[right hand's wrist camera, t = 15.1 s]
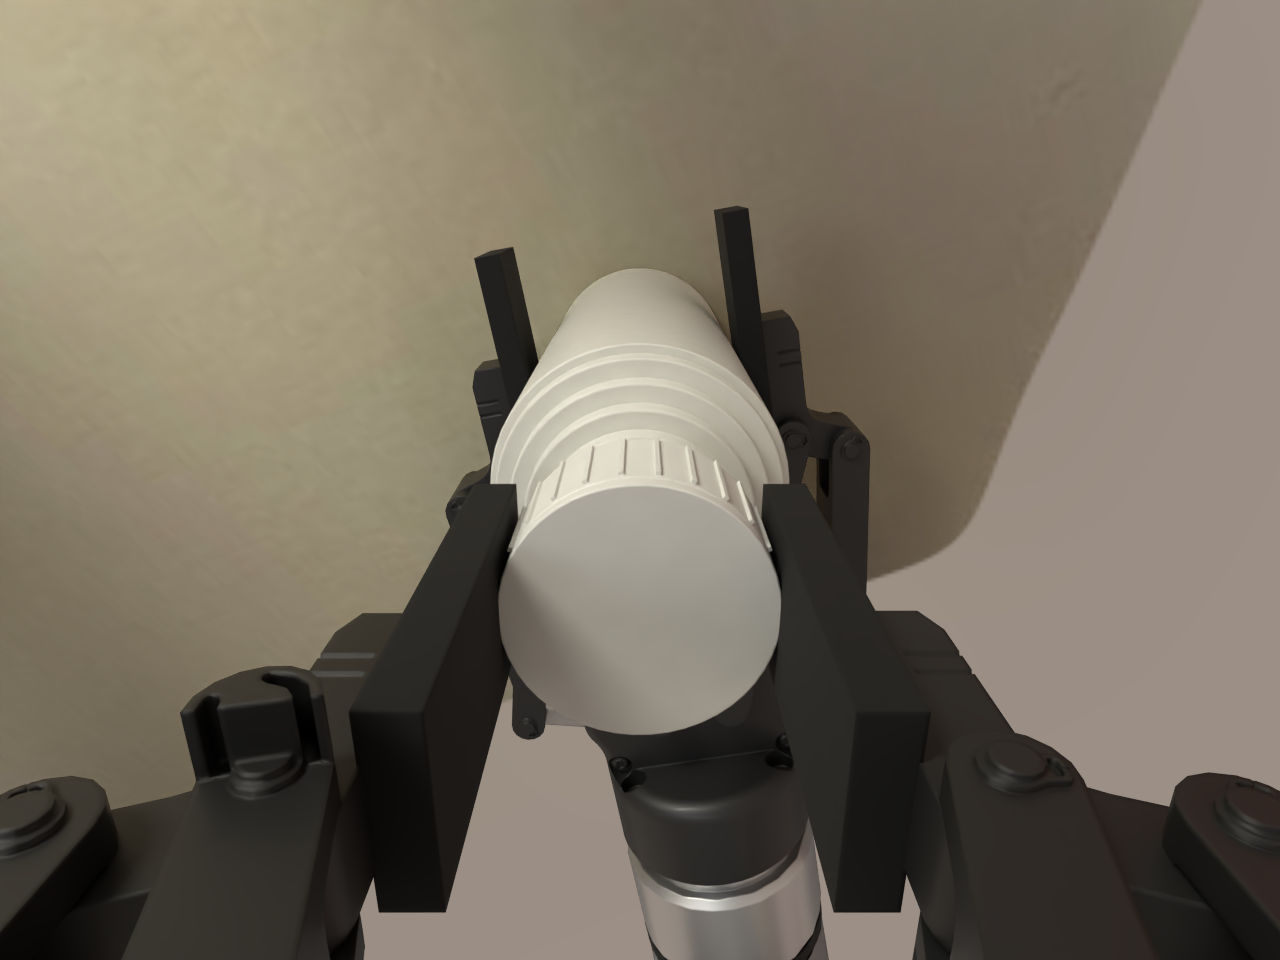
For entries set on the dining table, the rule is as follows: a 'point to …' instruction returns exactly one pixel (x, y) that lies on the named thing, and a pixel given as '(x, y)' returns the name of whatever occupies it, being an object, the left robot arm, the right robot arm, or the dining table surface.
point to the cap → (639, 589)
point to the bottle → (639, 387)
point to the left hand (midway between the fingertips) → (611, 232)
